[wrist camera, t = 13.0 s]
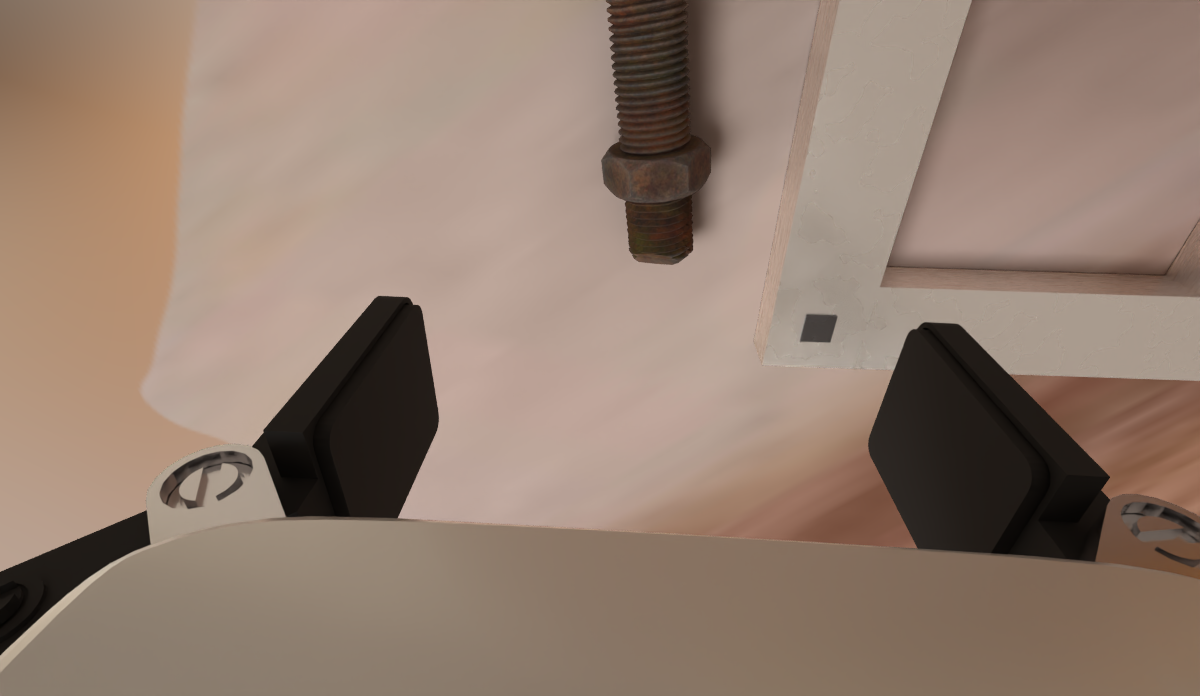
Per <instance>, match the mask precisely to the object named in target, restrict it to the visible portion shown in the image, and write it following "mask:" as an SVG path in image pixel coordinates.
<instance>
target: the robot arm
mask: <svg viewBox="0 0 1200 696" xmlns="http://www.w3.org/2000/svg"><path fill="white" fill-rule="evenodd" d="M438 422H439V414H438V407H437V401H436V395H435V388H434V382H433V376H432V370H431V364H430V357H429V351H428V345H427V339H426V333H425V326H424V320H423V314H422V310H421V308H420V306H419V305H413V303H412V301H411V299H409V298H408V297H390V296H378V297H376V298H375V299H374V300H373V302H372V303H371V304H370V305H369V306H368V307H367V309H366V310H365V311H364V312H363V313H362V315H361V316H360V317H359V318H358V319H357V320H356V322H355V323H354V324H353V325H352V326H351V328H350V329H349V330H348V331H347V332H346V333H345V335H344V336H343V337H342V338H341V339H340V340H339V342H338V343H337V344H336V345H335V346H334V348H333V349H332V350H331V351H330V352H329V353H328V355H327V356H326V357H325V358H324V359H323V361H322V362H321V363H320V364H319V365H318V366H317V368H316V369H315V370H314V371H313V372H312V373H311V375H310V376H309V377H308V378H307V379H306V381H305V382H304V383H303V384H302V385H301V386H300V388H299V389H298V390H297V391H296V392H295V394H294V395H293V396H292V397H291V398H290V399H289V401H288V402H287V403H286V404H285V405H284V406H283V408H282V409H281V410H280V411H279V412H278V414H277V415H276V416H275V417H274V418H273V419H272V421H271V422H270V423H269V424H268V425H267V427H266V428H265V429H264V430H263V431H264V433H263V434H262V435H261V437H260V438H259V439H258V440H257V441H256V442H255V444H254V445H253V446H252V447H251V446H248V445H241V444H226V445H218V446H214V447H210V448H206V449H202V450H199V451H197V452H195V453H192V454H190V455H188V456H186V457H183V458H182V459H180V460H178V461H177V462H175V463H173V464H172V465H170V466H169V467H167V468H166V469H165V470H164V471H163V472H162V473H161V474H160V475H159V476H157V477H156V478H155V480H154V481H153V483H152V484H151V486H150V487H149V489H148V492H147V498H146V507H147V510H146V511H144V512H142V513H139V514H137V515H135V516H132V517H130V518H128V519H125V520H123V521H120V522H118V523H115V524H113V525H111V526H108V527H106V528H104V529H101V530H99V531H96V532H94V533H92V534H89V535H87V536H84V537H82V538H80V539H77V540H75V541H73V542H70V543H68V544H65V545H63V546H61V547H58V548H56V549H54V550H51V551H49V552H46V553H44V554H42V555H39V556H37V557H35V558H32V559H30V560H28V561H25V562H23V563H20V564H18V565H16V566H13V567H11V568H8V569H6V570H4V571H1V572H0V696H1200V517H1199V516H1198V515H1196V514H1194V513H1192V512H1190V511H1188V510H1186V509H1184V508H1182V507H1179V506H1177V505H1175V504H1172V503H1169V502H1166V501H1164V500H1161V499H1158V498H1154V497H1149V496H1144V495H1139V494H1122V495H1119V496H1116V497H1113V498H1112V499H1111V500H1110V499H1109V498H1108V497H1107V496H1106V495H1105V494H1104V493H1103V492H1102V491H1101V489H1102V488H1103V487H1104V485H1105V484H1106V482H1107V481H1108V479H1109V478H1110V476H1109V475H1108V474H1107V473H1106V472H1105V471H1104V470H1103V469H1102V468H1101V467H1100V466H1099V465H1098V464H1097V463H1096V462H1095V461H1094V460H1093V459H1092V458H1091V457H1090V456H1089V455H1088V454H1087V453H1086V452H1085V451H1084V450H1083V449H1082V448H1081V447H1080V446H1079V445H1078V444H1077V443H1076V442H1075V441H1074V440H1073V439H1072V438H1071V437H1070V436H1069V435H1068V434H1067V433H1066V432H1065V431H1064V430H1063V429H1062V428H1061V427H1060V426H1059V425H1058V424H1057V423H1056V422H1055V421H1054V420H1053V419H1052V418H1051V417H1050V416H1049V415H1048V414H1047V413H1046V411H1045V410H1044V409H1043V408H1042V407H1041V406H1040V405H1039V404H1038V403H1037V402H1036V401H1035V400H1034V399H1033V398H1032V397H1031V396H1030V395H1029V394H1028V393H1027V392H1026V391H1025V390H1024V389H1023V388H1022V387H1021V386H1020V385H1019V384H1018V383H1017V382H1016V381H1015V380H1014V379H1013V378H1012V377H1011V376H1010V375H1009V374H1008V373H1007V372H1006V371H1005V370H1004V369H1003V368H1002V367H1001V366H1000V365H999V364H998V363H997V362H996V361H995V360H994V359H993V358H992V357H991V356H990V355H989V354H988V353H987V352H986V351H985V350H984V349H983V348H982V347H981V346H980V344H979V343H978V342H977V341H976V340H975V339H974V338H973V337H972V336H971V335H970V334H969V333H968V332H967V331H966V330H965V329H964V328H963V327H962V326H960V325H959V324H955V323H934V322H924V323H922V324H921V325H920V326H919V327H918V328H917V329H913V330H911V331H910V332H909V333H908V335H907V337H906V339H905V342H904V345H903V348H902V350H901V353H900V356H899V358H898V361H897V364H896V366H895V369H894V372H893V374H892V377H891V380H890V383H889V385H888V388H887V391H886V393H885V396H884V399H883V401H882V404H881V407H880V410H879V412H878V415H877V418H876V420H875V423H874V426H873V428H872V431H871V434H870V437H869V443H868V447H869V453H870V456H871V458H872V460H873V462H874V464H875V466H876V468H877V470H878V472H879V474H880V476H881V478H882V479H883V481H884V483H885V485H886V487H887V489H888V491H889V493H890V495H891V497H892V499H893V501H894V503H895V505H896V507H897V509H898V511H899V513H900V515H901V517H902V519H903V521H904V522H905V524H906V526H907V528H908V530H909V532H910V534H911V536H912V538H913V540H914V542H915V544H916V546H917V548H918V549H915V548H900V547H884V546H869V545H853V544H837V543H820V542H804V541H788V540H771V539H755V538H738V537H721V536H705V535H688V534H670V533H653V532H636V531H619V530H601V529H584V528H566V527H548V526H529V525H511V524H492V523H474V522H455V521H437V520H418V519H400V518H398V516H399V514H400V512H401V509H402V507H403V505H404V503H405V501H406V498H407V496H408V494H409V492H410V489H411V487H412V485H413V483H414V481H415V478H416V476H417V474H418V472H419V469H420V467H421V465H422V463H423V461H424V458H425V456H426V454H427V452H428V450H429V447H430V445H431V443H432V441H433V438H434V436H435V434H436V431H437V428H438Z"/></svg>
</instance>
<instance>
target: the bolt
mask: <svg viewBox="0 0 1200 696" xmlns="http://www.w3.org/2000/svg"><path fill="white" fill-rule="evenodd" d="M606 2H607V3H609V4H611V6H610V7H609V8H607V12H609V13H610V14H612V16H610V17H609V18H608V22H610V23H612V24H613V25H612V26H611V27H609V31H611V32H612V33H614V35H612V36H611V37H610V38H609V39H610V41H612V42H613V43H614V44H613V45H612V46H611V47H610V49H611V50H612V51H613V52H615V54H613V55H612V56H611V59H612V60H613V61H615V63H614V64H613V65H612V68H613V69H614V70H616V71H615V72H614V73H613V76H614V77H615V78H616V79H617V80H615V81H614V85H616V86H617V87H618V88H616V89H615V91H614V92H615V94H617V95H619V96H618V97H617V98H616V99H615V101H616V102H617V103H619V105H617V107H616V110H618V111H620V112H619V113H618V115H617V118H619V119H620V121H619V122H618V126H620V127H621V129H620V130H619V134H620V135H622V136H621V137H620V138H619V141H620V142H618V143H616V144H614V145H612V146H611V147H610V148H609V150H608V151H607V152H606V154H605V155H604V157H603V158H602V160H601V161H602V170H603V179H604V184H605V185H606V187H607V188H608V189H609V190H610V191H611V192H612V193H613V194H614V195H615V196H616V197H618V198H620V199H623V200H625V201H626V203H625V206H626V214H627V215H626V218H627V226H628V229H627V230H628V234H629V235H628V239H629V241H628V242H629V247H630V248H629V251H630V252H631V253H632V254H633V255H632V256H633V257H634V259H635V260H637V261H639V262H645V263H655V264H669V265H673V264H676V263H679V262H680V261H681V260H683V259H684V258H685V257H687V256H688V254H689V253H691V252H692V250H693V238H692V237H693V234H692V223H693V222H692V220H691V219H692V216H693V215H692V213H691V212H692V206H691V204H692V201H691V198H692V194H693V193H695V192H697V191H698V190H699V189H700V188H701V187H702V186H703V185H704V183H705V182H706V180H707V178H708V176H709V175H710V173H711V148H710V147H709V146H708V145H707V144H706V143H705V142H704V141H703V140H702V139H701V138H699V137H697V136H694V135H690V134H689V132H690V130H691V128H690V126H688V125H689V124H690V122H691V121H690V119H689V118H688V116H689V115H690V111H689V110H688V108H689V106H690V102H688V99H689V97H690V95H689V93H688V91H689V89H690V86H689V85H688V84H687V83H688V82H689V80H690V78H689V77H688V76H687V74H688V73H689V71H690V70H689V68H688V67H686V66H687V65H688V63H689V59H687V58H685V57H686V56H687V55H688V50H687V49H685V48H686V46H687V45H688V41H687V40H685V38H686V37H687V36H688V32H687V31H685V29H686V28H687V27H688V22H686V21H684V20H685V19H686V18H687V17H688V13H687V12H685V11H683V10H685V9H686V8H687V7H688V3H686V2H684V0H606Z"/></svg>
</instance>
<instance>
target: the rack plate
mask: <svg viewBox="0 0 1200 696" xmlns="http://www.w3.org/2000/svg"><path fill="white" fill-rule="evenodd" d="M971 2H972V0H820V5H819V10H818V15H817V20H816V25H815V30H814V36H813V41H812V46H811V51H810V56H809V61H808V66H807V71H806V76H805V81H804V86H803V92H802V97H801V102H800V107H799V112H798V117H797V122H796V127H795V132H794V137H793V142H792V148H791V153H790V158H789V163H788V168H787V173H786V178H785V183H784V188H783V193H782V198H781V204H780V209H779V214H778V219H777V224H776V229H775V234H774V239H773V244H772V249H771V254H770V260H769V265H768V270H767V275H766V280H765V285H764V290H763V295H762V300H761V305H760V310H759V316H758V321H757V326H756V331H755V336H754V341H753V342H754V344H755V347H756V350H757V353H758V356H759V358H760V361H761V364H762V366H788V367H817V368H846V369H875V370H894V369H895V366H896V364H897V361H898V358H899V356H900V353H901V350H902V348H903V345H904V342H905V339H906V337H907V335H908V333H909V332H910V331H911V330H913V329H917V328H918V327H919V326H920V325H921V324H922V323H924V322H934V323H955V324H959V325H960V326H962V327H963V328H964V329H965V330H966V331H967V332H968V333H969V334H970V335H971V336H972V337H973V338H974V339H975V340H976V341H977V342H978V343H979V344H980V346H981V347H982V348H983V349H984V350H985V351H986V352H987V353H988V354H989V355H990V356H991V357H992V358H993V359H994V360H995V361H996V362H997V363H998V364H999V365H1000V366H1001V367H1002V368H1003V369H1004V370H1005V371H1006V372H1007V373H1008V374H1019V375H1048V376H1077V377H1106V378H1135V379H1164V380H1193V381H1200V220H1199V222H1198V223H1197V225H1196V227H1195V228H1194V230H1193V231H1192V233H1191V235H1190V236H1189V238H1188V239H1187V241H1186V243H1185V244H1184V246H1183V247H1182V249H1181V251H1180V252H1179V254H1178V255H1177V257H1176V259H1175V260H1174V262H1173V263H1172V265H1171V267H1170V268H1169V270H1168V272H1167V273H1166V275H1132V274H1100V273H1067V272H1035V271H1002V270H970V269H937V268H905V267H886V266H887V263H888V260H889V257H890V254H891V251H892V247H893V244H894V241H895V238H896V235H897V232H898V229H899V226H900V223H901V219H902V216H903V213H904V210H905V207H906V204H907V201H908V198H909V195H910V191H911V188H912V185H913V182H914V179H915V176H916V173H917V170H918V167H919V163H920V160H921V157H922V154H923V151H924V148H925V145H926V142H927V139H928V135H929V132H930V129H931V126H932V123H933V120H934V117H935V114H936V111H937V107H938V104H939V101H940V98H941V95H942V92H943V89H944V86H945V82H946V79H947V76H948V73H949V70H950V67H951V64H952V61H953V58H954V54H955V51H956V48H957V45H958V42H959V39H960V36H961V33H962V30H963V26H964V23H965V20H966V17H967V14H968V11H969V8H970V5H971Z"/></svg>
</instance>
